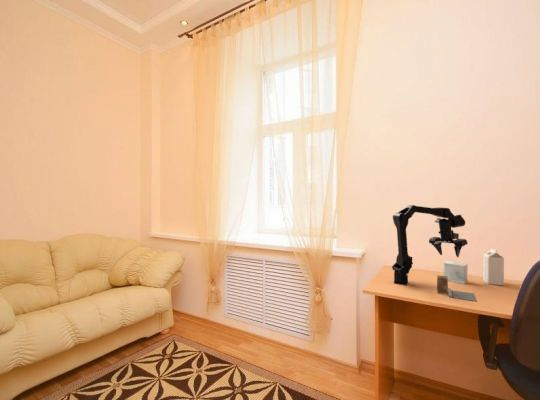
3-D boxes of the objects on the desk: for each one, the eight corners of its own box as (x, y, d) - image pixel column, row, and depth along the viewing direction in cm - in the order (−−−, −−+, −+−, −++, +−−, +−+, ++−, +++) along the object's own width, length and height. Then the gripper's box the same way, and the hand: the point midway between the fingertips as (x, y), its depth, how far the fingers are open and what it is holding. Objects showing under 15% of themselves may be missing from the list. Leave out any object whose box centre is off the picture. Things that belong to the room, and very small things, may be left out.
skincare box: (443, 280, 162) (443, 262, 162) (446, 277, 166) (446, 260, 166) (464, 284, 154) (464, 265, 154) (467, 282, 158) (467, 263, 158)
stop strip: (448, 297, 135) (448, 295, 135) (447, 289, 145) (447, 288, 145) (451, 297, 134) (451, 295, 134) (450, 290, 144) (450, 288, 144)
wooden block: (437, 293, 140) (437, 277, 140) (437, 290, 144) (437, 275, 144) (447, 294, 138) (447, 278, 138) (447, 292, 142) (447, 276, 142)
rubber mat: (453, 297, 134) (453, 297, 134) (452, 290, 144) (452, 290, 144) (476, 301, 129) (476, 301, 129) (473, 293, 139) (473, 293, 139)
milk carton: (497, 281, 158) (498, 248, 158) (503, 285, 151) (504, 250, 151) (483, 280, 160) (483, 247, 160) (488, 284, 154) (488, 250, 153)
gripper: (471, 227, 154) (475, 254, 154) (437, 225, 170) (441, 250, 171) (459, 231, 149) (463, 259, 149) (426, 229, 166) (430, 255, 166)
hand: (449, 256), depth 159 cm, fingers open, 9 cm apart
